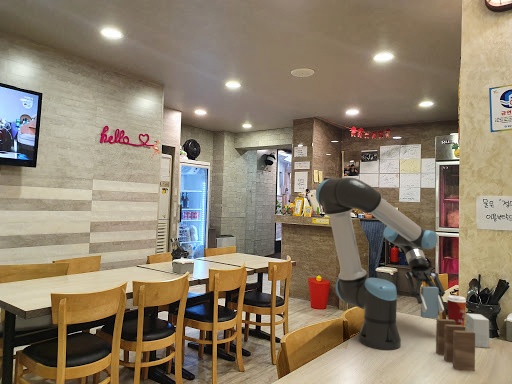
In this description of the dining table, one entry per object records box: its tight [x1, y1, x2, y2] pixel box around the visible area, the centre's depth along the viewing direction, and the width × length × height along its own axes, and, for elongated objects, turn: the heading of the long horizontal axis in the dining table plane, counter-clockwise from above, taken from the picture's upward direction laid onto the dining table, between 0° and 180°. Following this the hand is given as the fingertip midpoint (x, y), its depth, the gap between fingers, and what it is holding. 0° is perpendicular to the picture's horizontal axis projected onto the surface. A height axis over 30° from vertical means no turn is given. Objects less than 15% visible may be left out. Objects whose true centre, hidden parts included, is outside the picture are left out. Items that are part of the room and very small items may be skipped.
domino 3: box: [452, 330, 476, 372], centre depth 121 cm, size 2×6×12 cm, turn 89°
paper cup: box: [446, 294, 467, 327], centre depth 160 cm, size 8×8×14 cm
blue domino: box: [420, 286, 439, 319], centre depth 149 cm, size 2×6×12 cm, turn 89°
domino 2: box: [443, 325, 466, 363], centre depth 127 cm, size 2×6×12 cm, turn 88°
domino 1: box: [435, 318, 456, 356], centre depth 133 cm, size 2×6×12 cm, turn 89°
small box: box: [465, 312, 490, 349], centre depth 144 cm, size 8×6×10 cm
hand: (433, 310), depth 146 cm, fingers closed on blue domino, 6 cm apart
